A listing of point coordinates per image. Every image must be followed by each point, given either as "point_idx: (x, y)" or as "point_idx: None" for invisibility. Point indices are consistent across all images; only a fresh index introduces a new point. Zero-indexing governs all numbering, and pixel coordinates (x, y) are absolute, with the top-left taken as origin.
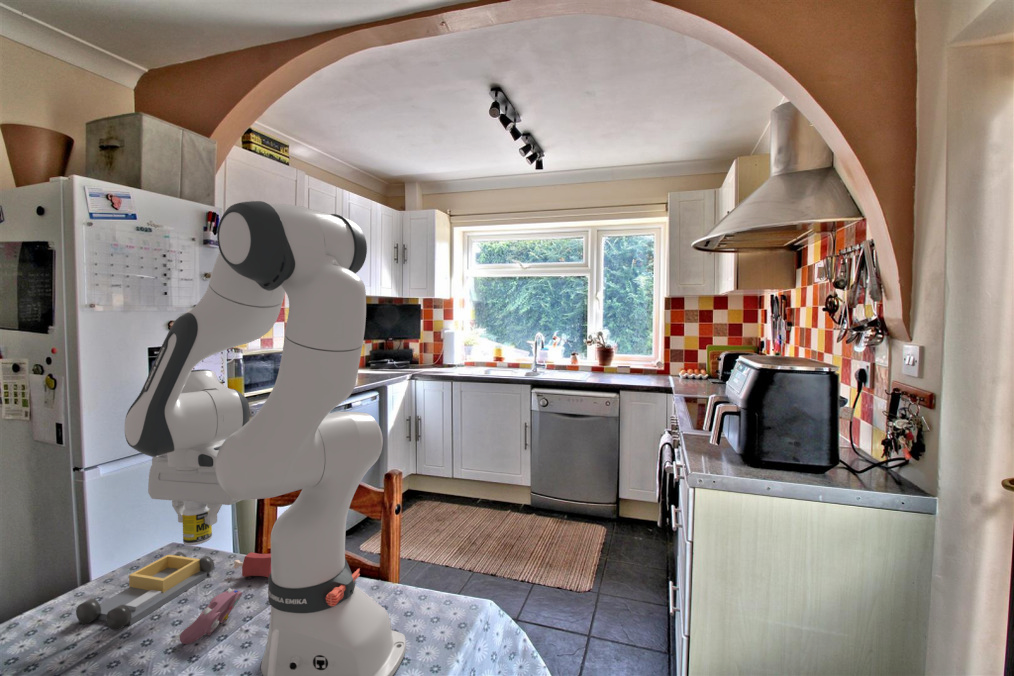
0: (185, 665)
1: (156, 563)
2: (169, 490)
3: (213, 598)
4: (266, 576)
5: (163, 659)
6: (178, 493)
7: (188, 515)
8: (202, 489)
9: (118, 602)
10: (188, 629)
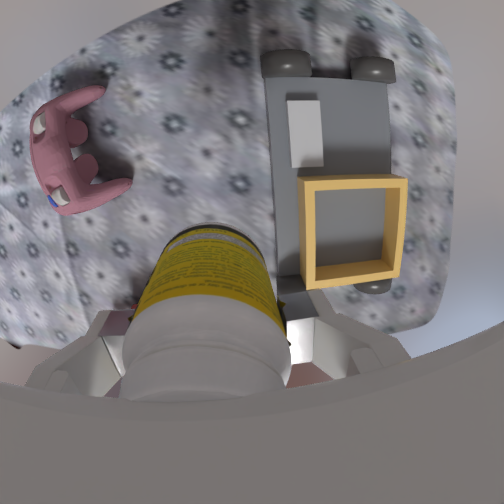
0: (56, 68)
1: (395, 240)
2: (466, 421)
3: (52, 149)
4: (133, 304)
5: (99, 53)
6: (343, 445)
7: (168, 299)
8: (1, 480)
9: (357, 119)
10: (74, 91)
